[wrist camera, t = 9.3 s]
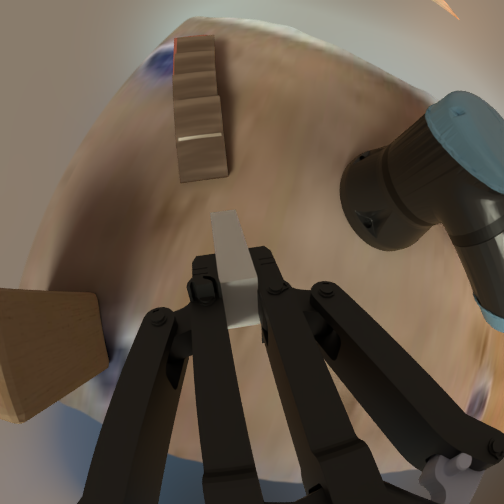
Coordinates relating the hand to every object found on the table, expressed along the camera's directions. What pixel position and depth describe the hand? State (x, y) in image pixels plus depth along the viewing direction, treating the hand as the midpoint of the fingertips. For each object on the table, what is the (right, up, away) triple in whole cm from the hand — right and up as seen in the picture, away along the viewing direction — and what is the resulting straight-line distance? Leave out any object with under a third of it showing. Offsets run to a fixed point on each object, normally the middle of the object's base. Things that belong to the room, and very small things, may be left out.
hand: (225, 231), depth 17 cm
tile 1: (-4, +8, +17) cm, 19 cm away
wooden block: (-22, -12, +13) cm, 28 cm away
